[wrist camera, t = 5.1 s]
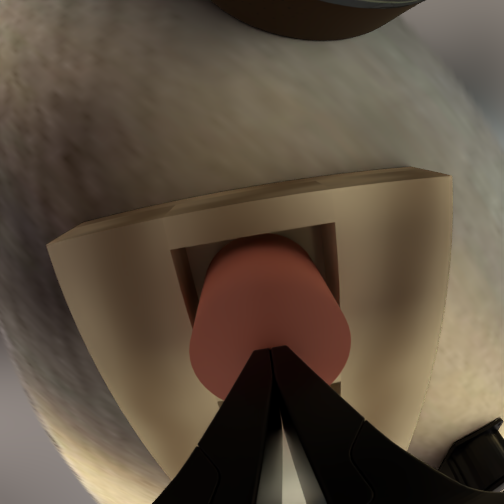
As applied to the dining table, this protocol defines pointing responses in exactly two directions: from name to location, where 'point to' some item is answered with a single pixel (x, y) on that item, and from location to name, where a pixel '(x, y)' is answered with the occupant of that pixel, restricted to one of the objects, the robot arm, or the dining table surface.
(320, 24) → the olive oil
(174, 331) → the light wood flat tray
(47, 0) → the dining table surface
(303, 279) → the red button
